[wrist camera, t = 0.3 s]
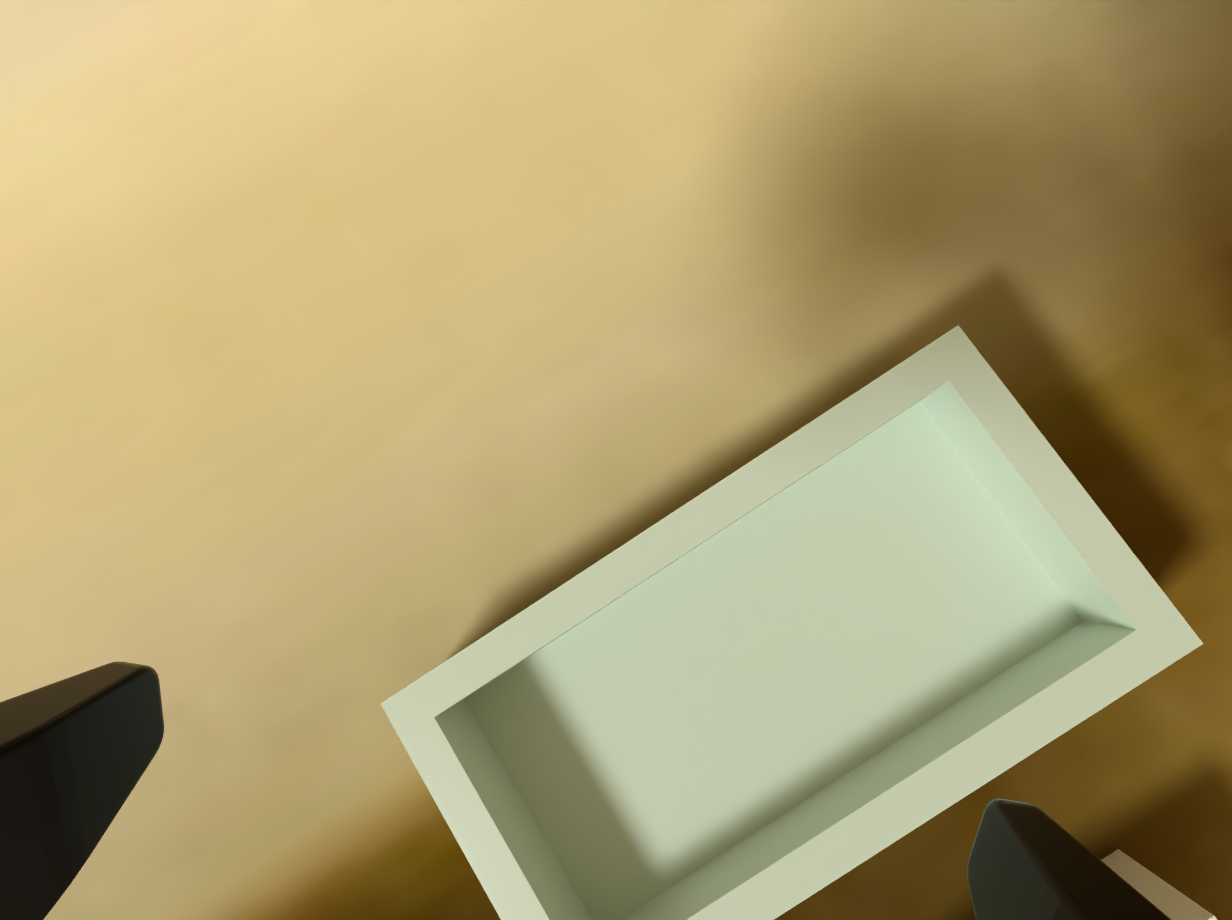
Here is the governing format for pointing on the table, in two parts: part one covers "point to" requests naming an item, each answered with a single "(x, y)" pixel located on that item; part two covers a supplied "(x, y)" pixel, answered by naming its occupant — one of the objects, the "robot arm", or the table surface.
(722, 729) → the trough
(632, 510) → the table surface
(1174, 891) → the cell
